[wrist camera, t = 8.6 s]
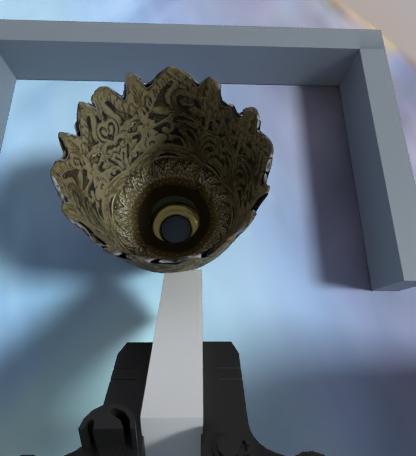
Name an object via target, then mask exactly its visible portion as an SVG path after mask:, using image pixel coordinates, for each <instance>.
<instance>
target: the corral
mask: <svg viewBox="0 0 416 456" xmlns="http://www.w3.org/2000/svg"><path fill="white" fill-rule="evenodd" d="M169 66H173V67H175V68H178V69H180V70H183V71H185V72H187V73H189V74H190V75H191V76H193V77H194V79H195V80H196V81H197V82H198V83H201V82H202V81H203V80H204V79H205V78H207V77H213V78H214V79H215V80H216V81H217V82H218V83H227V84H273V85H319V86H339V88H340V94H341V101H342V107H343V113H344V120H345V126H346V132H347V138H348V145H349V151H350V157H351V163H352V170H353V176H354V182H355V188H356V195H357V201H358V207H359V213H360V220H361V226H362V232H363V238H364V245H365V251H366V257H367V263H368V270H369V276H370V282H371V288H372V291H400V290H404V289H408V288H411V287H415V286H416V185H415V181H414V176H413V172H412V168H411V163H410V159H409V154H408V150H407V145H406V141H405V136H404V132H403V127H402V123H401V118H400V114H399V109H398V105H397V100H396V96H395V91H394V87H393V82H392V78H391V74H390V69H389V65H388V60H387V56H386V51H385V47H384V42H383V38H382V33H381V30H367V29H330V28H294V27H258V26H222V25H185V24H149V23H113V22H77V21H40V20H4V19H0V151H1V146H2V142H3V137H4V133H5V128H6V124H7V119H8V115H9V110H10V106H11V101H12V97H13V92H14V87H15V83H16V79H43V80H89V81H125V77H126V74H128V73H129V72H132V73H134V74H136V75H138V76H140V77H141V80H142V82H149V81H151V80H152V79H153V78H154V77H155V76H156V75H157V74H158V73H159V72H161V71H162V70H163V69H165V68H166V67H169ZM142 78H144V79H142Z"/></svg>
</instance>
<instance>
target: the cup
mask: <svg viewBox="0 0 416 456" xmlns="http://www.w3.org/2000/svg"><path fill="white" fill-rule="evenodd" d="M142 79H144V78H142ZM144 83H146V82H144ZM144 83H143V82H142V80H141V77H140V76H138V75H136V74H134V73H132V72H129V73H128V74H126V77H125V84H124V91H123V95H122V96H121V95H119V94H118V93H117V92H115V91H114V90H112V89H111V88H109V87H99V88H98V89H96V90H95V92H94V94H93V95H92V97H91V101H92V105H91V104H90V103H88V104H87V103H85V102H79V103H78V108H77V121H76V123H75V130H76V133H77V134H76V136H75V135H73V134H70V133H64V132H59V134H58V138H59V142H60V145H61V148H62V150H63V156H62V158H61V159H60V160H56V161H55V163H54V165H53V167H52V169H51V171H50V174H51V179H52V182H53V184H54V186H55V188H56V190H57V192H58V196H59V198H60V200H61V201H62V203H63V205H61V209H62V211H63V213H64V214H65V216H66V217H67V218H68V219H69V220H70V221H71V222H72V223H73V224H75V225H77V226H78V227H79V228H80V229H82V230H83V231H84V232H85V233H86V234H87V235H88V236H89V237H90V239H91V240H92V241H93V242H94V243H96V244H98V245H99V246H101V247H102V248H103V250H104V251H106V252H108V253H110V254H113V255H115V256H117V257H119V258H121V259H122V260H124V261H126V262H128V263H130V264H132V265H134V266H137V267H139V268H142V269H145V270H148V271H152V272H158V273H176V272H184V271H189V270H194V269H197V268H199V267H202V266H204V265H206V264H207V263H209V262H211V261H213V260H214V259H215V258H217V257H218V256H219V255H221V254H222V253H223V252H224V251H225V250H226V249H227V248H228V247H229V246H230V245H231V244H232V243H233V242H234V241H235V240H236V238H237V237H238V236H239V235H240V234H241V233H243V232H244V231H245V229H246V228H247V227H248V226H249V225H250V223H251V222H252V221H253V219H254V218H255V216H256V211H257V209H258V208H259V206H260V205H261V203H262V202H263V201H264V199H265V198H266V197H267V195H268V193H269V190H270V186H268V185H267V184H266V182H267V178H268V175H269V172H270V169H271V165H272V159H273V144H272V142H271V141H270V139H269V138H268V137H267V136H266V135H265V134H263V133H262V132H261V131H260V124H261V122H260V117H259V114H258V111H257V109H256V108H254V107H249V108H245V109H244V110H243V112H241V113H237V111H236V109H235V106H234V105H233V104H227V103H226V102H224V101H223V100H222V97H221V85H220V84H219V83H218V82H217V81H216V80H215V79H214V78H213V77H207V78H205V79H204V80H203V81H202V82H201V83H200V84H199V83H198V82H197V81H196V80H195V79H194V77H193V76H191V75H190V74H189V73H187V72H185V71H183V70H180V69H178V68H175V67H173V66H169V67H166V68H165V69H163V70H162V71H161V72H159V73H158V74H157V75H156V76H155V77H154V78H153V79H152V80H151V81H149V82H147V83H146V85H145V84H144ZM120 96H121V97H120ZM123 96H124V97H123ZM122 97H123V98H122ZM240 114H241V115H243V116H241V115H240ZM174 215H179V216H182V217H184V218H186V219H187V220H188V222H189V223H190V227H191V231H190V235H189V236H188V238H187V239H186V240H184V241H182V242H178V243H171V242H169V241H167V240H166V239H165V238H164V237H163V235H162V232H161V227H162V224H163V222H164V221H165V220H166V219H167V218H168V217H170V216H174Z"/></svg>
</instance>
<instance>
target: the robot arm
mask: <svg viewBox="0 0 416 456" xmlns="http://www.w3.org/2000/svg"><path fill="white" fill-rule="evenodd" d="M78 430H79V435H80V439H81V444H82V447H80V448H79V449H77V450H76V451H74V452H72V453H70V454H67V455H65V456H284V455H281V454H278V453H275V452H273V451H270V450H268V449H266V448H265V447H264V446H262V445H261V444H260V443H259V442H258V441H257V440H256V439H255V438H254V436H253V435H252V433H251V431H250V428H249V424H248V419H247V412H246V404H245V397H244V389H243V382H242V374H241V369H240V359H239V353H238V351H237V350H236V348H235V347H234V345H233V344H232V342H202V270H189V271H184V272H176V273H165V275H164V281H163V287H162V293H161V299H160V304H159V310H158V316H157V322H156V328H155V334H154V340H153V342H127V343H126V345H125V346H124V347H123V348H122V350H121V351H120V352H119V353H118V355H117V359H116V362H115V366H114V370H113V373H112V376H111V382H110V383H109V387H108V390H107V394H106V397H105V401H104V404H103V405H102V406H100V407H98V408H96V409H95V410H93V411H91V412H90V413H89V414H88V415H87V416H86V417H85V418H84V419H83V421H82V423H81V425H80V427H79V429H78ZM20 456H34V455H20ZM296 456H325V455H322V454H319V453H316V452H313V451H309V452H301V453H300V454H298V455H296Z"/></svg>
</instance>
